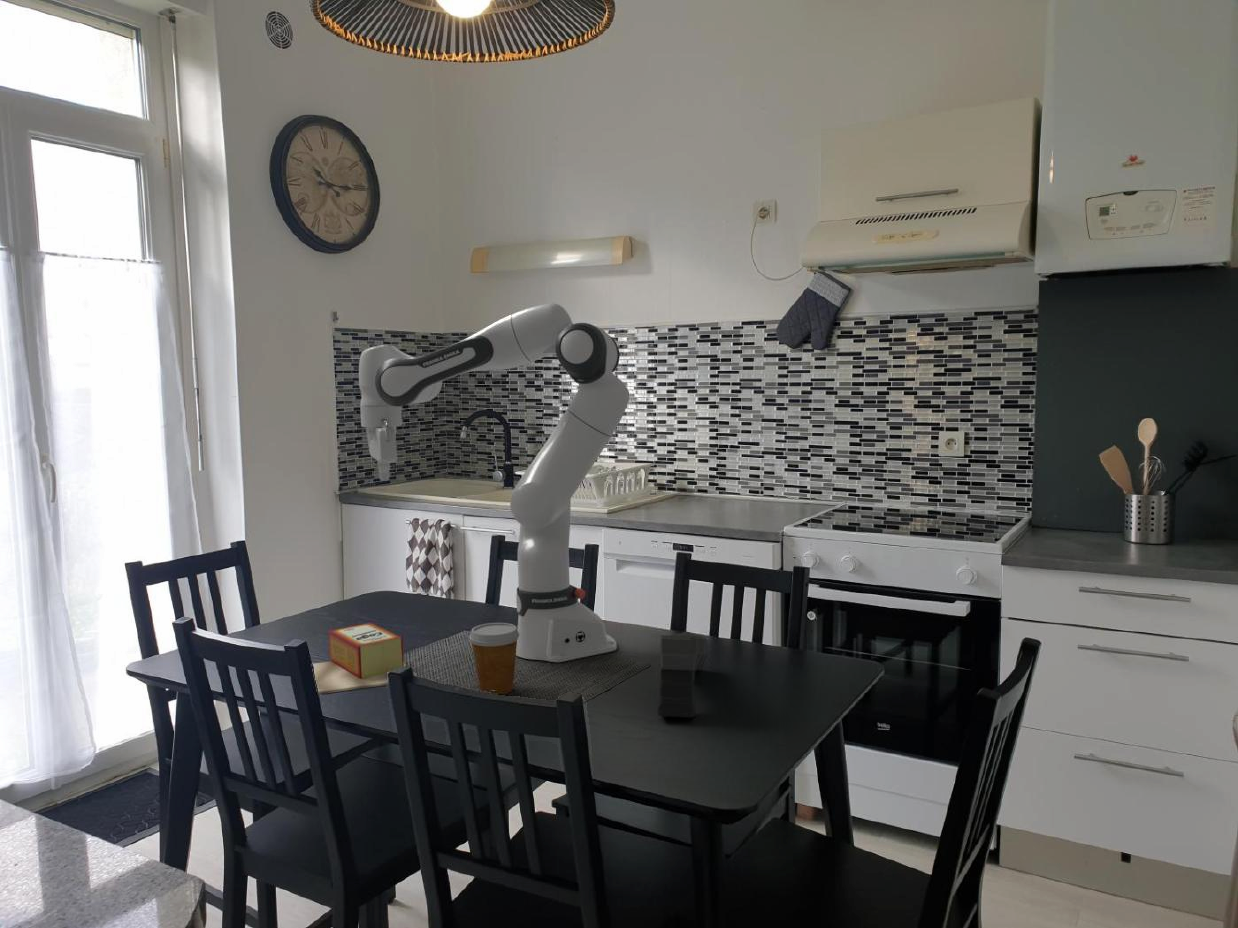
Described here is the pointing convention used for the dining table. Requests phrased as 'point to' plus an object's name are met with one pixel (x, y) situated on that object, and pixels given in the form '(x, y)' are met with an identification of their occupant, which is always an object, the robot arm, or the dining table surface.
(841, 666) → the dining table surface
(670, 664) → the dark grey upright block
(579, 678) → the dining table surface
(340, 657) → the baking soda box
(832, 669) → the dining table surface
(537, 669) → the dining table surface
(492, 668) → the disposable coffee cup
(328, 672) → the oak board
